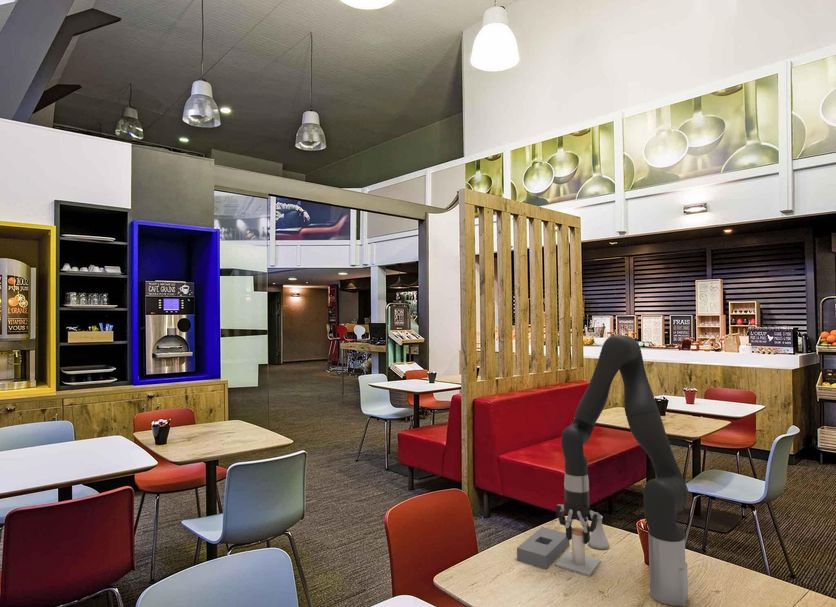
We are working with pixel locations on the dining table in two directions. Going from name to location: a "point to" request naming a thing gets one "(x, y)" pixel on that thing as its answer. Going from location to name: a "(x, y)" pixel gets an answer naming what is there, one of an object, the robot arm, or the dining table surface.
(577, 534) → the plug
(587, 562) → the mat
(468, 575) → the dining table surface
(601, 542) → the flask
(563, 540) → the grey socket block
